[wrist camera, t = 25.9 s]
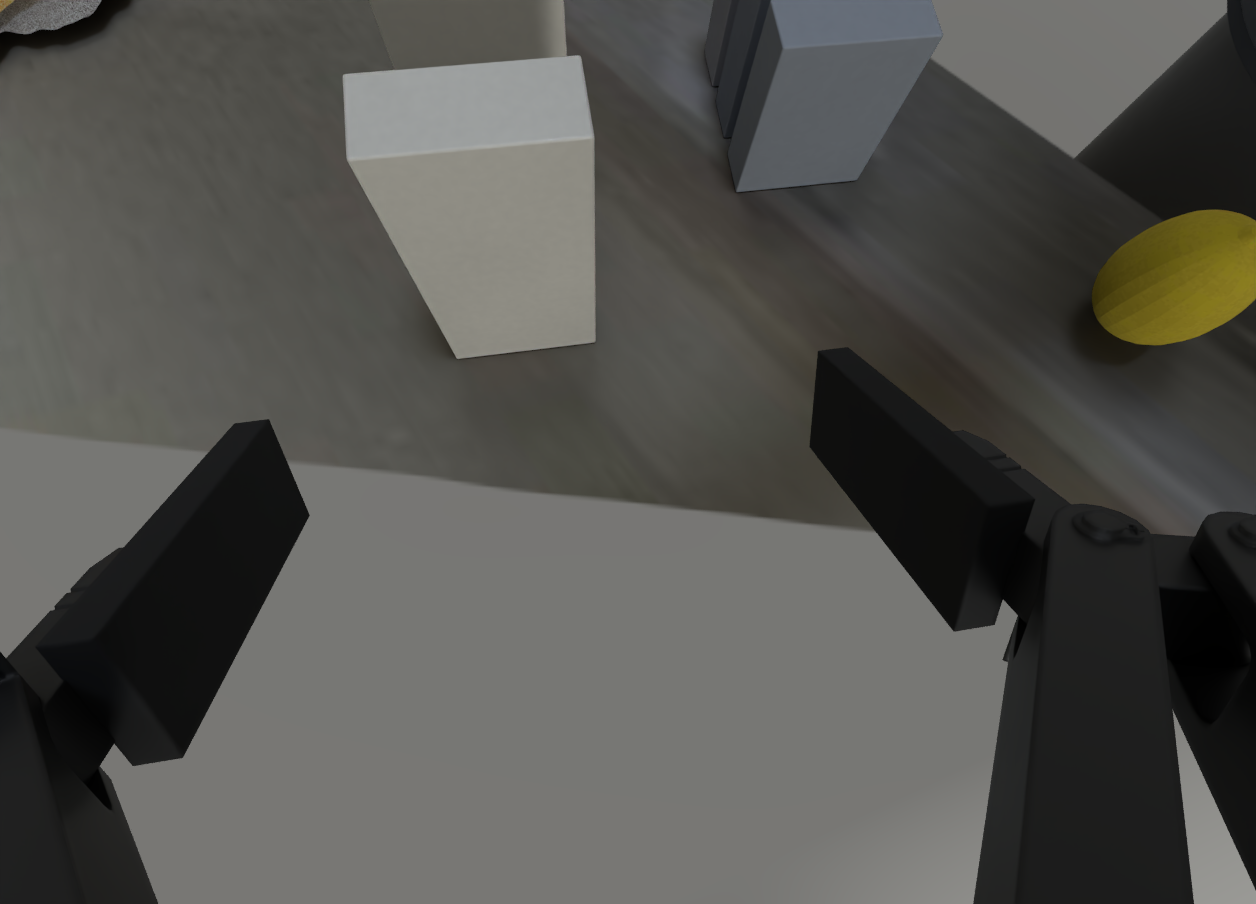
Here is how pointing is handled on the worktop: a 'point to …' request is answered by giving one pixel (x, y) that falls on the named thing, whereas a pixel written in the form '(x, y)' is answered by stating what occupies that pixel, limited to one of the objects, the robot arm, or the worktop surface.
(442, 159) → the cream tall block
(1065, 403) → the worktop surface
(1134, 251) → the lemon
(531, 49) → the cream book row
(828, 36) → the grey books
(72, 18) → the candy landscape model
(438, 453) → the worktop surface
